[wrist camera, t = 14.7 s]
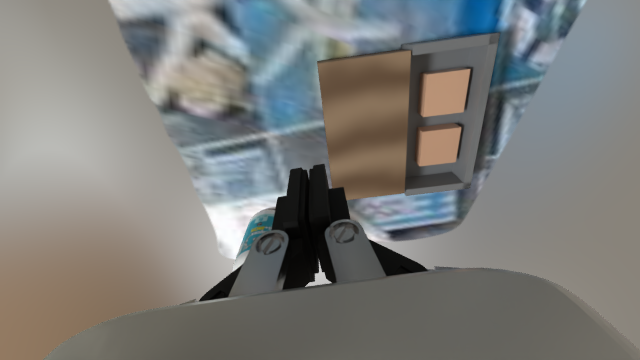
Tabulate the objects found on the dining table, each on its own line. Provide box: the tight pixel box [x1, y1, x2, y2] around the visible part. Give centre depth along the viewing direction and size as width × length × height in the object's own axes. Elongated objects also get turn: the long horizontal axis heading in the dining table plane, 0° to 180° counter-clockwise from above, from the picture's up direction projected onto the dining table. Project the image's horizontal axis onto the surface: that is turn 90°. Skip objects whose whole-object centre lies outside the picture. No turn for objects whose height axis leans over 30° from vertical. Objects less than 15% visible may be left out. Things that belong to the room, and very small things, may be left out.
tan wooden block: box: [317, 50, 411, 200], centre depth 33 cm, size 18×10×4 cm, turn 7°
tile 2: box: [418, 68, 470, 117], centre depth 31 cm, size 5×5×2 cm
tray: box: [401, 33, 500, 196], centre depth 32 cm, size 19×9×4 cm, turn 7°
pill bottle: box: [233, 210, 275, 271], centre depth 36 cm, size 8×7×14 cm
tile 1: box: [414, 123, 461, 166], centre depth 34 cm, size 5×5×2 cm
